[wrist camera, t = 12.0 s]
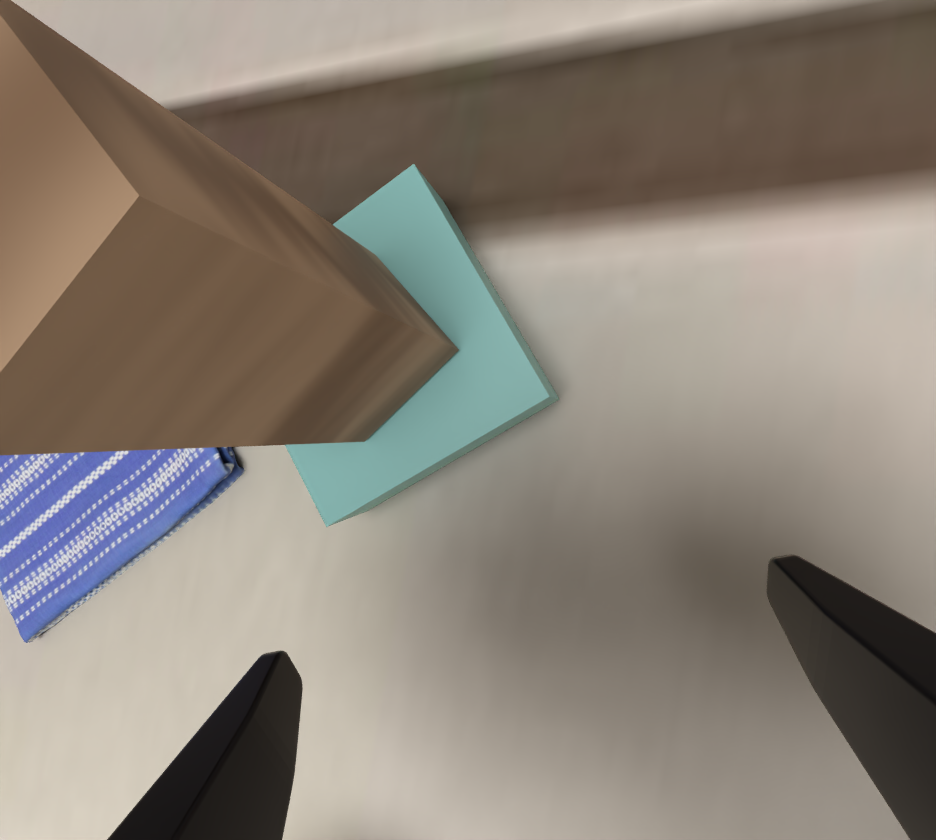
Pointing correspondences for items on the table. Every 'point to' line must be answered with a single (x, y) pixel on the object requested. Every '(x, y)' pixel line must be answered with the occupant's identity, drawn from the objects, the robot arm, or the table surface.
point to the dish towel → (93, 520)
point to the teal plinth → (455, 384)
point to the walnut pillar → (174, 281)
